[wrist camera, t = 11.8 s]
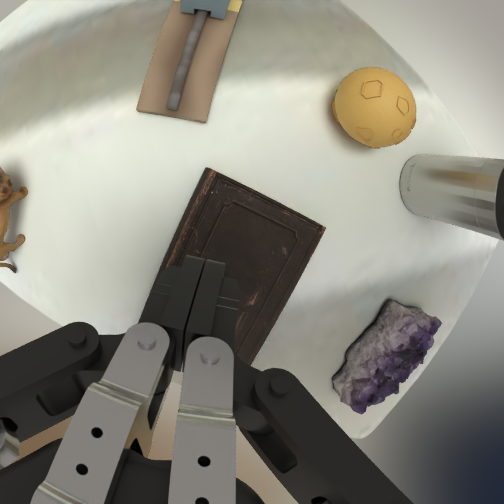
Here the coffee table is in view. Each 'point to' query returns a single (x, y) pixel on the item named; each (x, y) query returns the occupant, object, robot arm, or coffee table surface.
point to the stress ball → (375, 107)
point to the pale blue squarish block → (206, 7)
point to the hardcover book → (246, 250)
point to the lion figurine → (8, 216)
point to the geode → (385, 356)
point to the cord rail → (187, 63)
